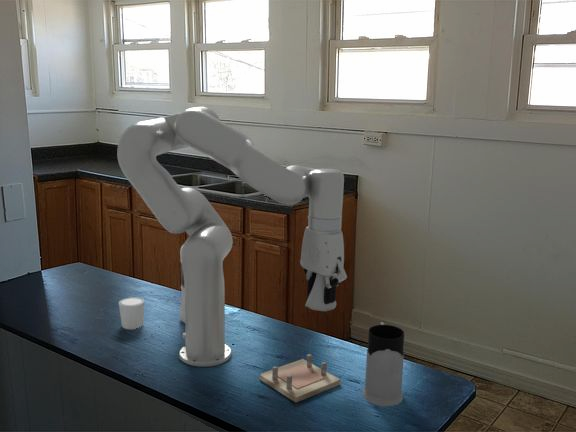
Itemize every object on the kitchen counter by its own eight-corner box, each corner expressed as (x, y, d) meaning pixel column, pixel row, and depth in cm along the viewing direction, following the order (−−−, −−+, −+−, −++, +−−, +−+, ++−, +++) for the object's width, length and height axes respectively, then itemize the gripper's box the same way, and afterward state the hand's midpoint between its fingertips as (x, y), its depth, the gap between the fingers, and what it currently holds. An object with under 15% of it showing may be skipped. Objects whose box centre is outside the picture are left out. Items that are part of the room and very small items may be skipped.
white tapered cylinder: (127, 332, 163) (126, 307, 162) (115, 324, 168) (114, 300, 167) (150, 326, 168) (149, 301, 166) (138, 318, 173) (137, 295, 171)
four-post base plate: (259, 379, 140) (259, 362, 139) (302, 363, 148) (303, 348, 147) (295, 402, 130) (296, 385, 129) (340, 384, 138) (340, 368, 137)
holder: (363, 405, 129) (367, 339, 126) (359, 373, 143) (362, 313, 140) (405, 407, 129) (410, 341, 126) (397, 375, 143) (401, 314, 140)
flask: (315, 298, 148) (317, 259, 146) (341, 305, 145) (344, 265, 142) (299, 307, 143) (301, 266, 140) (326, 314, 139) (328, 272, 136)
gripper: (287, 218, 143) (285, 292, 147) (340, 234, 130) (335, 314, 134) (311, 214, 148) (308, 286, 152) (363, 229, 135) (358, 306, 139)
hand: (321, 298), depth 143 cm, fingers closed on flask, 4 cm apart
